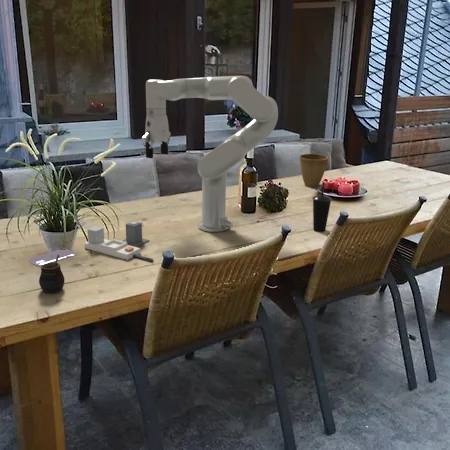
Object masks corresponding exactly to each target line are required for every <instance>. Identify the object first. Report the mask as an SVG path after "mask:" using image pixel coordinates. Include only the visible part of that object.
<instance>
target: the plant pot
mask: <svg viewBox="0 0 450 450" xmlns="http://www.w3.org/2000/svg"><path fill="white" fill-rule="evenodd" d="M328 160H329V157H328V156H327V155H325V154H319V153H318V154H317V153H303V154H301V155H299V163H300V164H299V165H300V171H301V176H302V180H303V184H304V186H305V187H307V188H317V187H319V186H320V184H321V182H322V179H323V177H324V174H325V172H326V167H327V164H328Z"/></svg>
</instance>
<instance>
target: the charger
mask: <svg viewBox="0 0 450 450" xmlns="http://www.w3.org/2000/svg"><path fill="white" fill-rule="evenodd" d="M142 238H143V223H142V222H139V221H134V220H132V221H130V222H127V223H125V239H126V242H129V243H133V244H136V243H138V242H140V241H142Z"/></svg>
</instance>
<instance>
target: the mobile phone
mask: <svg viewBox="0 0 450 450" xmlns="http://www.w3.org/2000/svg"><path fill="white" fill-rule="evenodd" d="M65 249H66V250H61V249H58V250H55V251H51V252H48V253H43V254H41V255H38V256H34V257H31V258H29V259H28V260H27V261H28V263H31V264H33V265H34V266H36V267H41V265H43V264H45V263H49V262H55V261H56V258H57V255H59V258H58V261H59V262H60V261H61V260H64V259H68V258H70V257H71V258H72V257H74V256H76V255H77V253H76V252H74V251H73V250H70V249H68V248H65ZM58 261H57V262H58Z"/></svg>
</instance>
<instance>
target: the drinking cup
mask: <svg viewBox="0 0 450 450" xmlns="http://www.w3.org/2000/svg"><path fill="white" fill-rule="evenodd" d="M321 186H322V187H321V194H317V195H314V196H312V211H313V212H312V219H313V220H312V222H313V223H312V224H313V225H312V226H313V231H314V232H317V233H324V232H326V228H327V223H328V218H329V213H330V206H331V203H332V197H330V196H328V195H325V194H324V190H325V182H322V185H321Z"/></svg>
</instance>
